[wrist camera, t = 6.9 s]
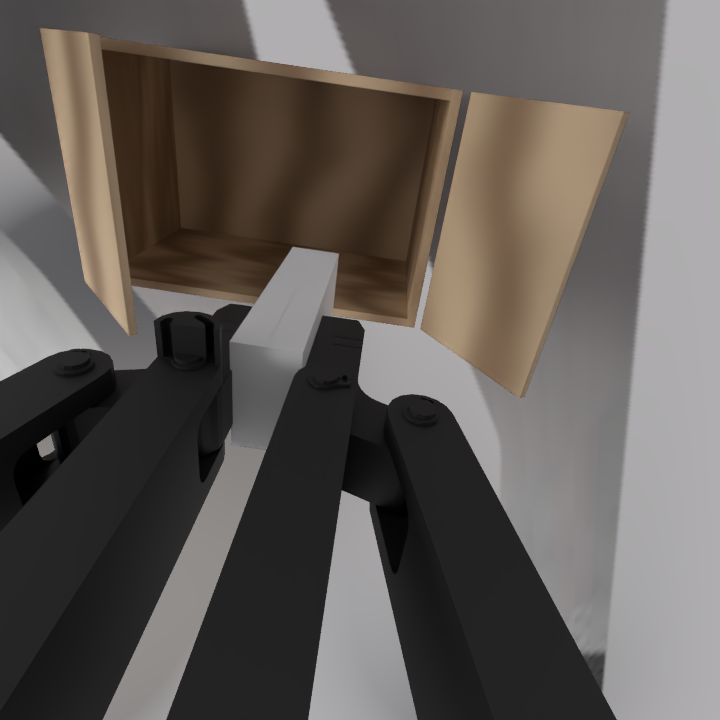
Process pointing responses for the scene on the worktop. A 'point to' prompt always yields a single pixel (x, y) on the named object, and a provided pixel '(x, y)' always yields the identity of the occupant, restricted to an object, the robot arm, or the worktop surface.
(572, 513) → the worktop surface
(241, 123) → the carton
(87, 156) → the flap
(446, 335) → the flap
